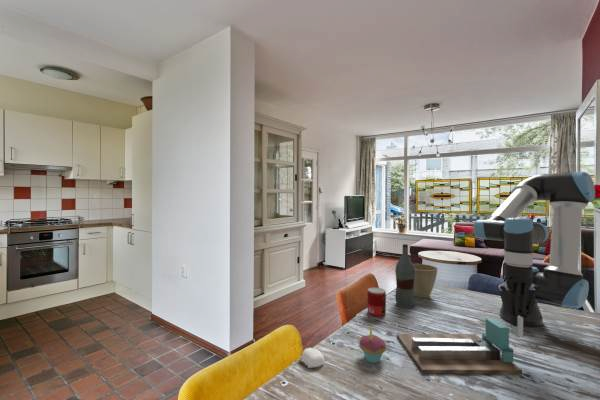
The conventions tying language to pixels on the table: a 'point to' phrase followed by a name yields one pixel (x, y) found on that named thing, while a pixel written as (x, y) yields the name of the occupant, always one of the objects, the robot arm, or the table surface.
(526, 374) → the table surface
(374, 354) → the cupcake
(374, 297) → the canned food
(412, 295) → the bottle
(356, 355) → the table surface
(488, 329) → the teal upright slab
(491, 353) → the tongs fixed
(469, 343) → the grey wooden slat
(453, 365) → the board
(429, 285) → the plant pot
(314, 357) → the garlic
